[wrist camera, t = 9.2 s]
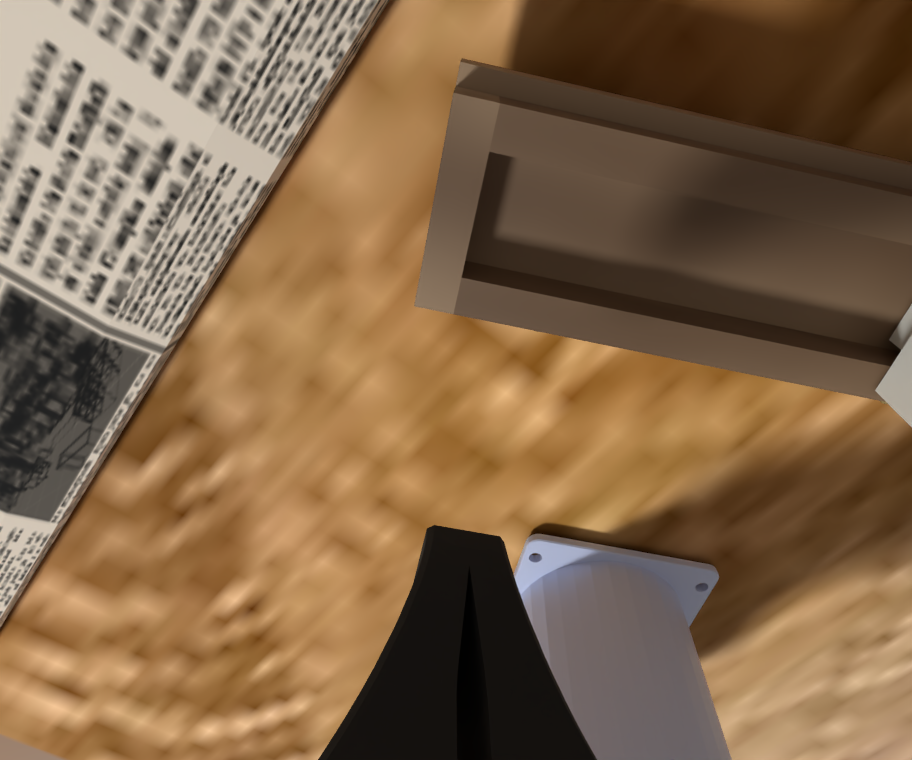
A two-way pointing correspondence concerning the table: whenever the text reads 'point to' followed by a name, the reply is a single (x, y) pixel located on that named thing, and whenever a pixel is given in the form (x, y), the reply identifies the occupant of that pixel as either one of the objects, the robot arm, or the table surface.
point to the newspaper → (129, 209)
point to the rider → (900, 371)
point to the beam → (668, 232)
